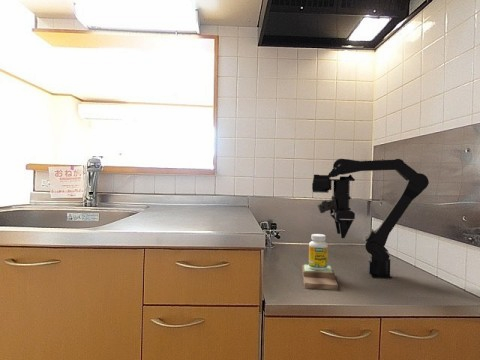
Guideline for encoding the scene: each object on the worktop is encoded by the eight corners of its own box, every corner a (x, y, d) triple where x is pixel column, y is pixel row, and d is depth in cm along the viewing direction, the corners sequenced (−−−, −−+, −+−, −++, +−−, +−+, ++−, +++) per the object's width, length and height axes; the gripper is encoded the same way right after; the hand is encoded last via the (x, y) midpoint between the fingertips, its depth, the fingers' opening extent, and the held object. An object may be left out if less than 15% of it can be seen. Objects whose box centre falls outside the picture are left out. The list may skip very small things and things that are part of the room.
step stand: (330, 274, 118) (330, 265, 118) (337, 289, 102) (338, 279, 102) (302, 273, 119) (302, 264, 119) (304, 287, 104) (304, 277, 103)
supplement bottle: (322, 265, 118) (322, 233, 118) (331, 270, 112) (331, 236, 112) (305, 265, 117) (306, 233, 116) (313, 271, 110) (314, 236, 110)
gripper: (316, 191, 132) (315, 231, 133) (321, 194, 114) (320, 239, 114) (345, 192, 131) (344, 232, 131) (355, 194, 112) (354, 241, 113)
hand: (340, 235), depth 122 cm, fingers open, 9 cm apart
